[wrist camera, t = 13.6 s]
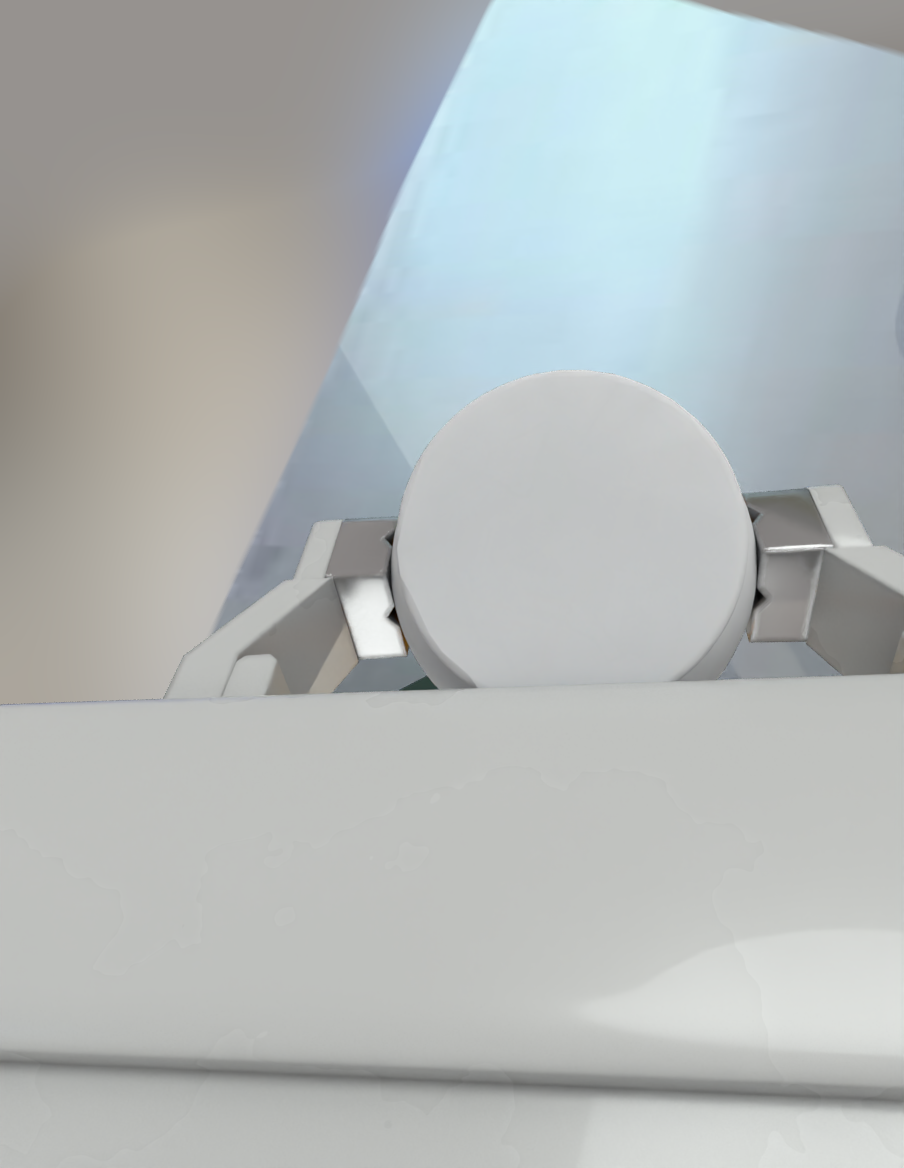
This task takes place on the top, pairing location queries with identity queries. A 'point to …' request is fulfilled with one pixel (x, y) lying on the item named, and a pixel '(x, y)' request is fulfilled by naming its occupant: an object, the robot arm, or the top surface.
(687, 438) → the supplement bottle
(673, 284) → the top surface
